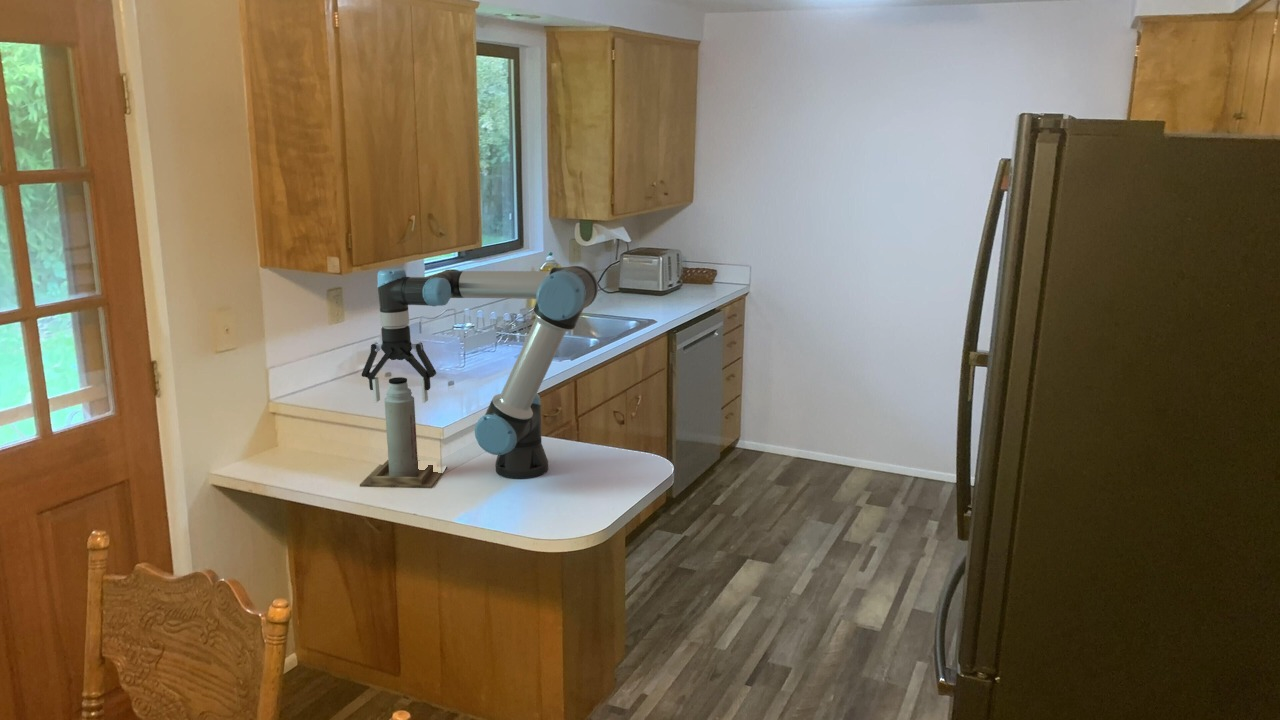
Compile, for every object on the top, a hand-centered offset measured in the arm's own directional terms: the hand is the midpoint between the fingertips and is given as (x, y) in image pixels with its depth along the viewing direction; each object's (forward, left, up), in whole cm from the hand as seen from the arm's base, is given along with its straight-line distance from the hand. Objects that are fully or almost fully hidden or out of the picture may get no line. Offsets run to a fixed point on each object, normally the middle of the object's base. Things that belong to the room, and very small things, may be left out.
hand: (401, 401), depth 255 cm
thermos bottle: (+1, 0, -22) cm, 22 cm away
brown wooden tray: (0, 0, -22) cm, 22 cm away
